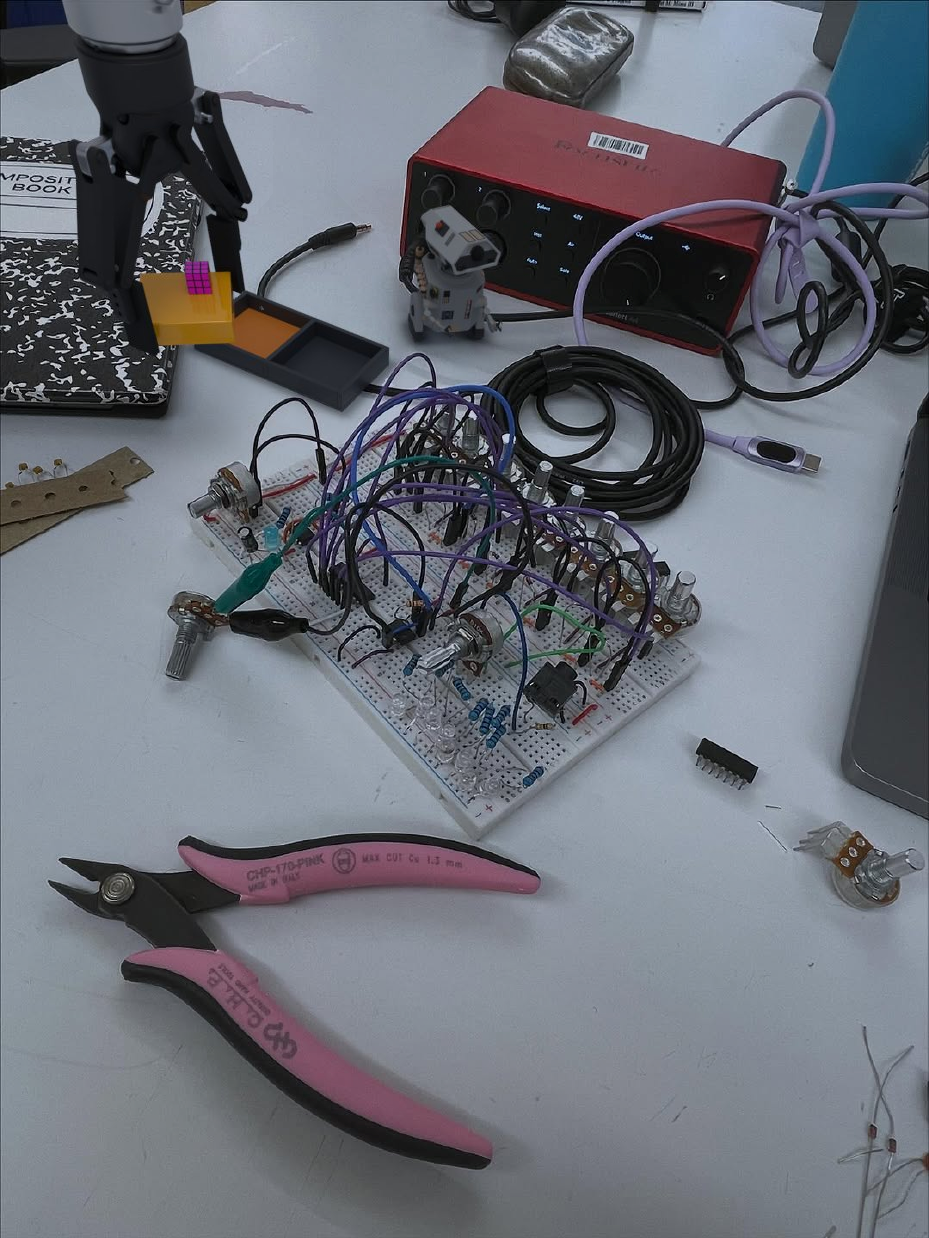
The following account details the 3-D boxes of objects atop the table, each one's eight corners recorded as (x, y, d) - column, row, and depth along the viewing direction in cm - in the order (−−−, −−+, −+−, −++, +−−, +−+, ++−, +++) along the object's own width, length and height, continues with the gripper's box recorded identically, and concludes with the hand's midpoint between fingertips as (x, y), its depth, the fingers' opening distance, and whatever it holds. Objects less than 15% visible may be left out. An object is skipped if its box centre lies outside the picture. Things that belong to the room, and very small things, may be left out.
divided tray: (194, 349, 92) (190, 331, 90) (248, 307, 98) (245, 290, 96) (342, 411, 88) (341, 394, 86) (389, 364, 94) (389, 347, 92)
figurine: (423, 372, 94) (431, 251, 82) (405, 316, 100) (410, 196, 88) (496, 368, 96) (514, 248, 84) (474, 313, 102) (488, 195, 90)
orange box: (235, 343, 71) (228, 300, 67) (141, 347, 69) (129, 302, 66) (233, 293, 75) (226, 250, 72) (145, 295, 74) (134, 251, 70)
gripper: (39, 103, 47) (131, 400, 65) (276, 4, 60) (299, 273, 78) (-53, 68, 49) (61, 367, 66) (198, -21, 62) (238, 249, 79)
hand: (190, 317), depth 72 cm, fingers closed on orange box, 11 cm apart
